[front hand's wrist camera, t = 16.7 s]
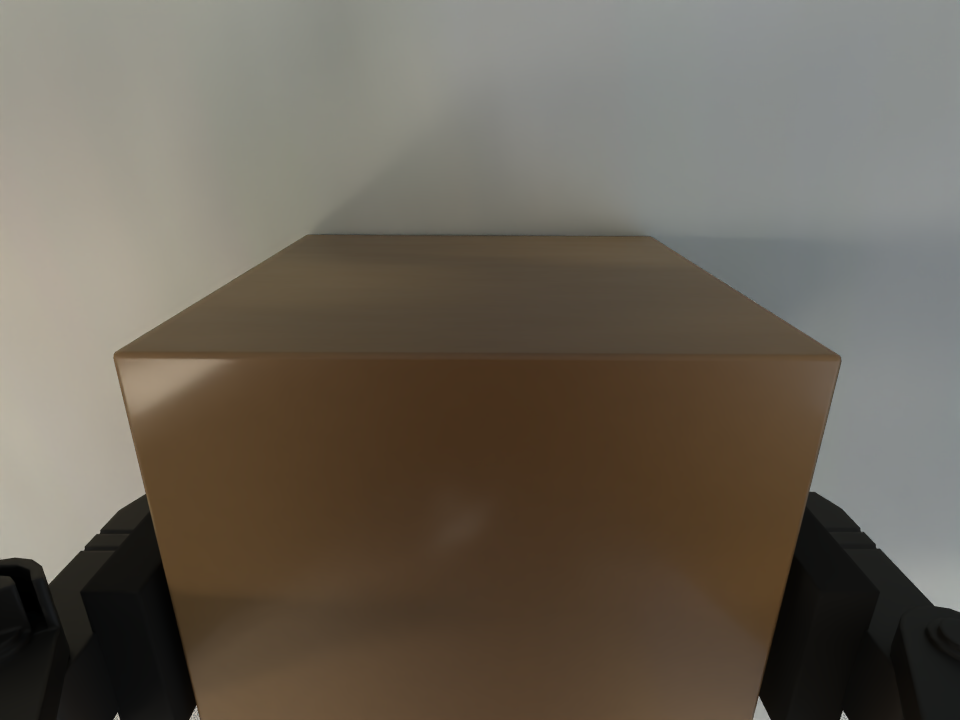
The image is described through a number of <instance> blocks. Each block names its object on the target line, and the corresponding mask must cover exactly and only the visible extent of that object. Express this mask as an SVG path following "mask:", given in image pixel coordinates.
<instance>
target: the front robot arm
mask: <svg viewBox="0 0 960 720" xmlns="http://www.w3.org/2000/svg"><path fill="white" fill-rule="evenodd" d="M759 697H760V699H761V701H762V703H763V705H764V707H765V709H766V711H767V713H768V715H769V717H770V719H771V720H840V717H841V714H842V711H844V713H845V714H846V716H847V717H848V719H849V720H960V612H957V611H955V610H952V609H949V608H943V607H936V606H934V605H933V604H932V603H931V602H930V601H929V600H928V599H927V598H926V597H925V596H924V595H923V594H922V592H921V591H920V590H919V589H918V588H917V587H916V586H915V585H914V584H913V583H912V582H911V581H910V580H909V579H908V578H907V577H906V576H905V575H904V574H903V573H902V571H901V570H900V569H899V568H898V567H897V566H896V565H895V564H894V563H893V562H892V561H891V560H890V559H889V558H888V557H887V556H886V555H885V554H884V553H883V552H882V550H881V549H877V548H876V544H875V543H874V542H873V541H872V540H871V539H870V538H869V537H868V536H867V535H866V534H865V533H864V532H861V531H860V527H859V526H858V525H857V524H856V523H855V522H854V521H853V520H852V519H851V518H850V517H849V516H848V515H847V514H846V513H845V512H844V511H843V510H842V509H841V508H840V507H838V506H837V505H835V504H833V503H832V502H830V501H828V500H827V499H825V498H824V497H822V496H820V495H819V494H817V493H816V492H809V494H808V498H807V502H806V507H805V511H804V515H803V519H802V523H801V527H800V531H799V535H798V539H797V543H796V547H795V551H794V555H793V559H792V563H791V567H790V571H789V575H788V579H787V583H786V587H785V591H784V595H783V600H782V604H781V608H780V612H779V616H778V620H777V624H776V628H775V632H774V636H773V640H772V644H771V648H770V652H769V656H768V660H767V664H766V668H765V672H764V676H763V680H762V684H761V688H760V693H759ZM195 707H196V700H195V696H194V692H193V688H192V684H191V680H190V675H189V671H188V667H187V663H186V659H185V655H184V650H183V646H182V642H181V638H180V634H179V629H178V625H177V621H176V617H175V613H174V609H173V604H172V600H171V596H170V592H169V588H168V584H167V579H166V575H165V571H164V567H163V563H162V559H161V554H160V550H159V546H158V542H157V538H156V534H155V529H154V525H153V521H152V517H151V513H150V508H149V504H148V500H147V496H146V494H145V495H143V496H142V497H140V498H138V499H137V500H135V501H134V502H132V503H130V504H129V505H127V506H125V507H124V508H122V509H121V510H119V511H118V512H117V513H116V514H115V515H114V516H113V517H112V518H111V519H110V521H109V522H108V523H107V524H106V525H105V526H104V527H103V528H102V529H101V530H100V534H96V535H95V536H94V537H93V538H92V540H91V541H90V542H89V543H88V544H87V545H86V546H85V550H84V551H80V552H79V553H78V554H77V555H76V556H75V557H74V559H73V560H72V561H71V562H70V563H69V564H68V565H67V566H66V567H65V568H64V569H63V570H62V571H61V572H60V573H59V574H58V575H57V577H56V578H55V579H54V580H53V581H52V582H51V583H50V584H49V585H48V582H47V580H46V577H45V574H44V571H43V568H42V566H41V565H39V564H38V563H36V562H35V561H34V560H32V559H23V558H9V559H3V560H0V720H113V719H114V717H115V716H116V714H117V712H118V714H119V717H120V720H189V719H190V717H191V715H192V713H193V711H194V709H195Z"/></svg>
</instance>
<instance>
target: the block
mask: <svg viewBox="0 0 960 720" xmlns="http://www.w3.org/2000/svg"><path fill="white" fill-rule="evenodd" d="M114 362H115V367H116V371H117V375H118V379H119V383H120V387H121V392H122V396H123V400H124V404H125V408H126V413H127V417H128V421H129V425H130V429H131V433H132V438H133V442H134V446H135V450H136V454H137V458H138V463H139V467H140V471H141V475H142V479H143V483H144V488H145V492H146V496H147V500H148V504H149V508H150V513H151V517H152V521H153V525H154V529H155V534H156V538H157V542H158V546H159V550H160V554H161V559H162V563H163V567H164V571H165V575H166V579H167V584H168V588H169V592H170V596H171V600H172V604H173V609H174V613H175V617H176V621H177V625H178V629H179V634H180V638H181V642H182V646H183V650H184V655H185V659H186V663H187V667H188V671H189V675H190V680H191V684H192V688H193V692H194V696H195V700H196V705H197V709H198V713H199V717H200V720H753V717H754V713H755V709H756V705H757V701H758V697H759V693H760V688H761V684H762V680H763V676H764V672H765V668H766V664H767V660H768V656H769V652H770V648H771V644H772V640H773V636H774V632H775V628H776V624H777V620H778V616H779V612H780V608H781V604H782V600H783V595H784V591H785V587H786V583H787V579H788V575H789V571H790V567H791V563H792V559H793V555H794V551H795V547H796V543H797V539H798V535H799V531H800V527H801V523H802V519H803V515H804V511H805V507H806V502H807V498H808V494H809V490H810V486H811V482H812V478H813V474H814V470H815V466H816V462H817V458H818V454H819V450H820V446H821V442H822V438H823V434H824V430H825V426H826V422H827V418H828V414H829V409H830V405H831V401H832V397H833V393H834V389H835V385H836V381H837V377H838V373H839V369H840V365H841V357H840V355H838V354H836V353H835V352H833V351H832V350H830V349H829V348H827V347H825V346H824V345H822V344H821V343H819V342H817V341H816V340H814V339H813V338H811V337H809V336H808V335H806V334H805V333H803V332H802V331H800V330H798V329H797V328H795V327H794V326H792V325H790V324H789V323H787V322H786V321H784V320H783V319H781V318H779V317H778V316H776V315H775V314H773V313H771V312H770V311H768V310H767V309H765V308H764V307H762V306H760V305H759V304H757V303H756V302H754V301H752V300H751V299H749V298H748V297H746V296H744V295H743V294H741V293H740V292H738V291H737V290H735V289H733V288H732V287H730V286H729V285H727V284H725V283H724V282H722V281H721V280H719V279H718V278H716V277H714V276H713V275H711V274H710V273H708V272H706V271H705V270H703V269H702V268H700V267H699V266H697V265H695V264H694V263H692V262H691V261H689V260H687V259H686V258H684V257H683V256H681V255H679V254H678V253H676V252H675V251H673V250H672V249H670V248H668V247H667V246H665V245H664V244H662V243H660V242H659V241H657V240H656V239H654V238H653V237H650V236H455V235H306V236H304V237H303V238H301V239H299V240H298V241H296V242H294V243H293V244H291V245H290V246H288V247H286V248H285V249H283V250H281V251H280V252H278V253H276V254H275V255H273V256H272V257H270V258H268V259H267V260H265V261H263V262H262V263H260V264H258V265H257V266H255V267H254V268H252V269H250V270H249V271H247V272H245V273H244V274H242V275H240V276H239V277H237V278H236V279H234V280H232V281H231V282H229V283H227V284H226V285H224V286H222V287H221V288H219V289H218V290H216V291H214V292H213V293H211V294H209V295H208V296H206V297H205V298H203V299H201V300H200V301H198V302H196V303H195V304H193V305H191V306H190V307H188V308H187V309H185V310H183V311H182V312H180V313H178V314H177V315H175V316H173V317H172V318H170V319H169V320H167V321H165V322H164V323H162V324H160V325H159V326H157V327H155V328H154V329H152V330H151V331H149V332H147V333H146V334H144V335H142V336H141V337H139V338H137V339H136V340H134V341H133V342H131V343H129V344H128V345H126V346H124V347H123V348H121V349H120V350H118V351H116V352H115V353H114Z"/></svg>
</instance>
